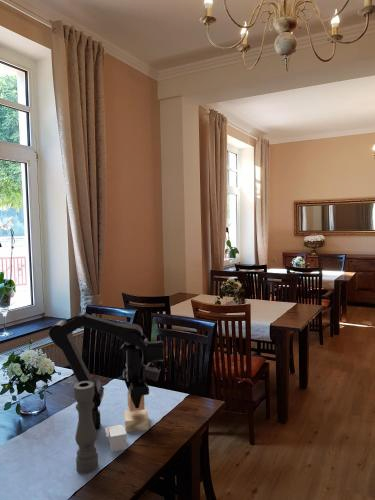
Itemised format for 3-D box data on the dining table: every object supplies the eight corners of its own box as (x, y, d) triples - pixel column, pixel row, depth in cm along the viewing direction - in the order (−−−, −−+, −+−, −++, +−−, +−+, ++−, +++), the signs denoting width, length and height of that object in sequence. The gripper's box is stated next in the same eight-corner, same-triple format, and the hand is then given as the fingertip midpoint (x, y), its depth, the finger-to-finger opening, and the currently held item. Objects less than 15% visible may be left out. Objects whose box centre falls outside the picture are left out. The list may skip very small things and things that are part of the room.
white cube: (111, 452, 123) (110, 436, 123) (109, 443, 128) (108, 428, 128) (127, 448, 125) (126, 433, 124) (124, 440, 130) (124, 425, 129)
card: (106, 437, 131) (106, 436, 131) (104, 428, 137) (104, 427, 137) (124, 434, 133) (124, 433, 133) (122, 425, 139) (122, 424, 139)
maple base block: (125, 432, 135) (125, 421, 134) (125, 420, 143) (124, 410, 142) (148, 430, 136) (148, 418, 136) (147, 418, 144) (147, 407, 144)
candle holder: (87, 476, 112) (83, 391, 110) (71, 469, 115) (68, 386, 113) (102, 464, 117) (99, 383, 115) (87, 458, 120) (84, 378, 118)
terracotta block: (130, 411, 136) (129, 397, 135) (127, 405, 140) (127, 391, 140) (144, 409, 137) (144, 395, 137) (141, 403, 142) (141, 389, 142)
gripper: (163, 368, 131) (164, 413, 132) (151, 350, 149) (152, 390, 150) (130, 372, 128) (131, 418, 129) (122, 353, 145) (123, 394, 147)
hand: (135, 404), depth 139 cm, fingers closed on terracotta block, 5 cm apart
